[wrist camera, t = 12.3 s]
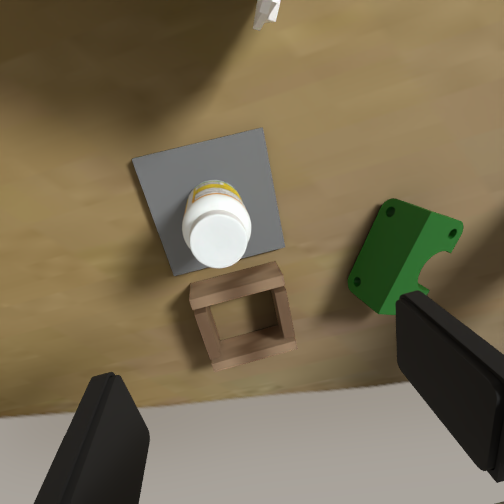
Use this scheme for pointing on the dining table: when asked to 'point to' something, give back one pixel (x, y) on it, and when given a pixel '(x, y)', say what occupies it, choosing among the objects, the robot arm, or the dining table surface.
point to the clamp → (399, 253)
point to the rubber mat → (204, 169)
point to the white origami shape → (265, 12)
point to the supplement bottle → (216, 224)
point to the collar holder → (254, 342)
